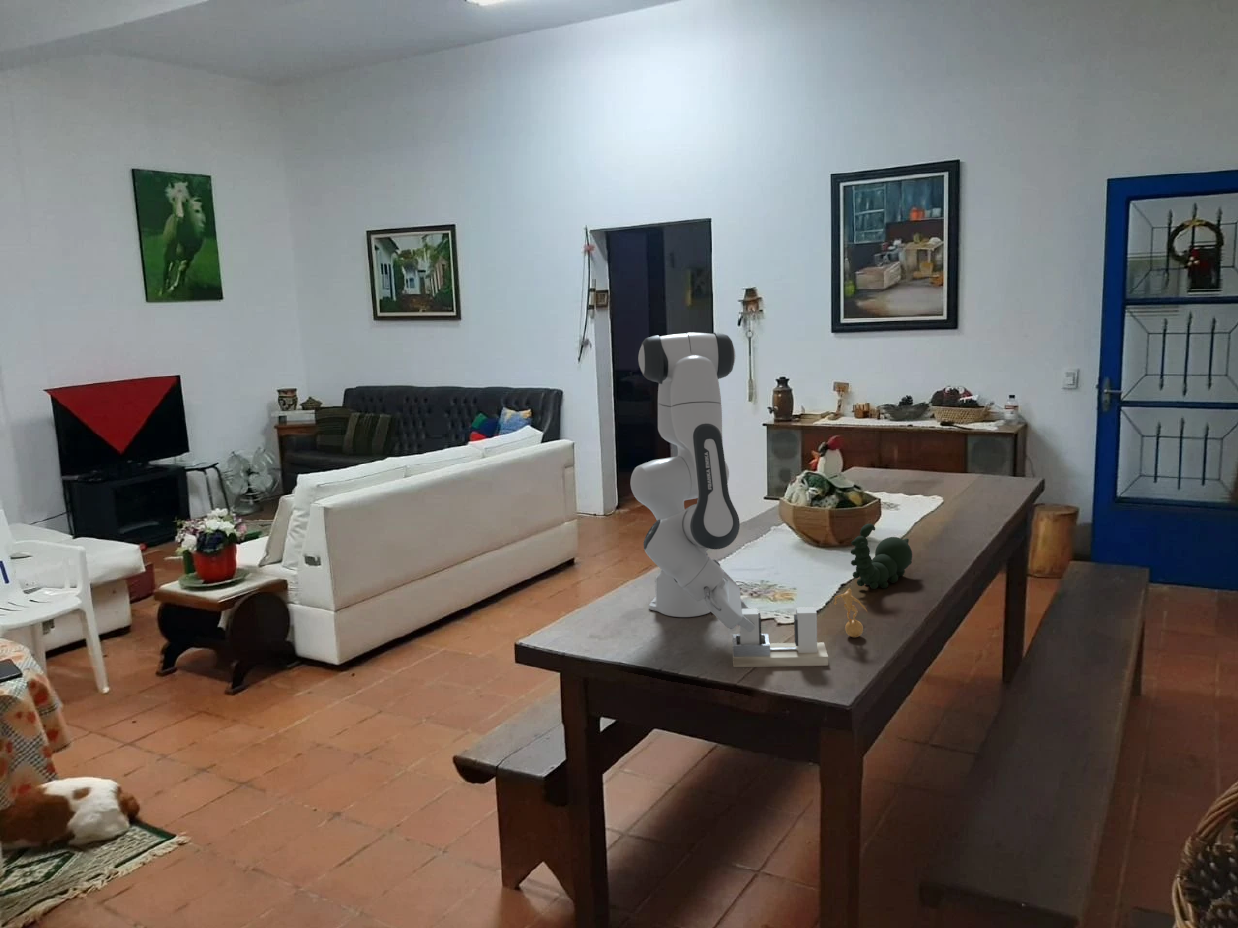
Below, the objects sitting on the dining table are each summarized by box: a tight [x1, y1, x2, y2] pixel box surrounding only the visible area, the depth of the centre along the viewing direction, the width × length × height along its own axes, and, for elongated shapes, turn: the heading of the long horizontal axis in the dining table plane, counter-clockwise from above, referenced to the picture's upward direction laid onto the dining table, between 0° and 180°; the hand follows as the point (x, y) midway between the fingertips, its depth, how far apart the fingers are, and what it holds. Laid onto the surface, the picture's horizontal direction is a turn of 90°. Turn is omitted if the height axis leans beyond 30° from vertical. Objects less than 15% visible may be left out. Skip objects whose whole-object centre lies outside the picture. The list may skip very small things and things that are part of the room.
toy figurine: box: [850, 523, 913, 590], centre depth 252 cm, size 9×19×25 cm
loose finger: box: [739, 607, 762, 645], centre depth 208 cm, size 4×4×9 cm
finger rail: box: [731, 606, 829, 668], centre depth 208 cm, size 8×20×11 cm, turn 85°
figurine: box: [833, 588, 868, 638], centre depth 217 cm, size 8×6×12 cm
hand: (752, 622), depth 208 cm, fingers open, 5 cm apart
